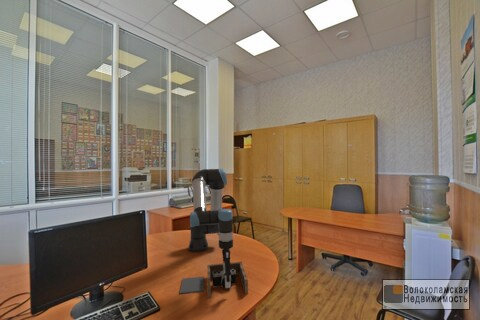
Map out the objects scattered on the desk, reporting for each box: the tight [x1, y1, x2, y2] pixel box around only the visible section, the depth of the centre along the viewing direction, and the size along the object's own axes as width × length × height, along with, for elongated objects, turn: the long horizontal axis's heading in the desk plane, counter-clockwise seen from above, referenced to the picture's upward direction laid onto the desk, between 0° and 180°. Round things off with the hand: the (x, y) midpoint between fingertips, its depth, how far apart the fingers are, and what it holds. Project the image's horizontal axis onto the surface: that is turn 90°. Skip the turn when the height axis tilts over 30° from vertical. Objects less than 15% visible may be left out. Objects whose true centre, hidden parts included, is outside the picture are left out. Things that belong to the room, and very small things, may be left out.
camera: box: [212, 268, 237, 290], centre depth 115 cm, size 13×8×9 cm, turn 106°
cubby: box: [206, 261, 249, 299], centre depth 116 cm, size 20×20×7 cm
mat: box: [179, 276, 205, 295], centre depth 117 cm, size 14×12×1 cm
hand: (226, 280), depth 113 cm, fingers open, 13 cm apart
